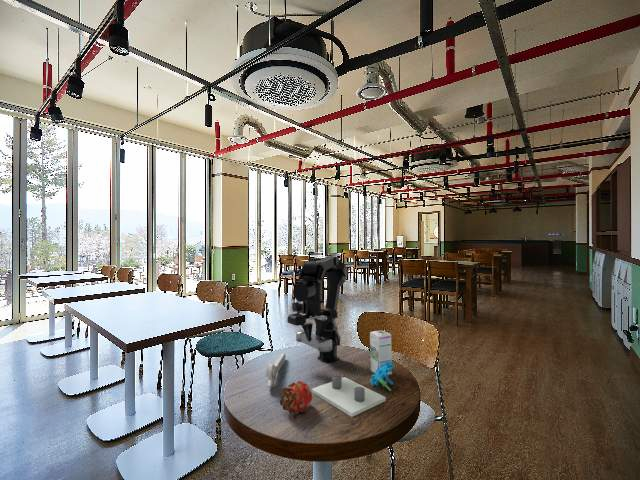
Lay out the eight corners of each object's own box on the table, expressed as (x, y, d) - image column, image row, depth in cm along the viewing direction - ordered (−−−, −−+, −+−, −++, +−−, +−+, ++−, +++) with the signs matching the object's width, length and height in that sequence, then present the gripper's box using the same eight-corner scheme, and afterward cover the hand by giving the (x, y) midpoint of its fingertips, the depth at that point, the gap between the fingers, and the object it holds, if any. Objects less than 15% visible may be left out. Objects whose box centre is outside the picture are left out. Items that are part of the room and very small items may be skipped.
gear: (370, 371, 112) (390, 354, 109) (382, 384, 111) (403, 367, 109) (367, 390, 101) (389, 371, 99) (380, 404, 101) (403, 385, 98)
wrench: (285, 367, 127) (270, 394, 98) (280, 367, 128) (264, 394, 98) (285, 346, 128) (271, 367, 99) (281, 346, 128) (265, 367, 99)
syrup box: (392, 374, 113) (392, 333, 113) (378, 377, 111) (378, 335, 111) (382, 368, 119) (382, 329, 119) (369, 371, 116) (369, 331, 116)
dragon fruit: (285, 428, 83) (299, 411, 95) (311, 411, 82) (322, 396, 94) (269, 398, 86) (285, 385, 97) (294, 381, 85) (307, 370, 96)
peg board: (344, 379, 109) (344, 368, 109) (385, 400, 95) (385, 387, 95) (311, 392, 100) (311, 379, 100) (351, 416, 86) (351, 402, 86)
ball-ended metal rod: (304, 337, 123) (304, 329, 123) (335, 349, 109) (335, 341, 109) (293, 339, 120) (293, 331, 120) (323, 353, 106) (323, 343, 106)
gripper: (319, 291, 127) (319, 330, 126) (279, 296, 115) (279, 339, 115) (338, 295, 118) (338, 337, 118) (296, 301, 106) (296, 348, 106)
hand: (313, 340), depth 114 cm, fingers closed on ball-ended metal rod, 4 cm apart
